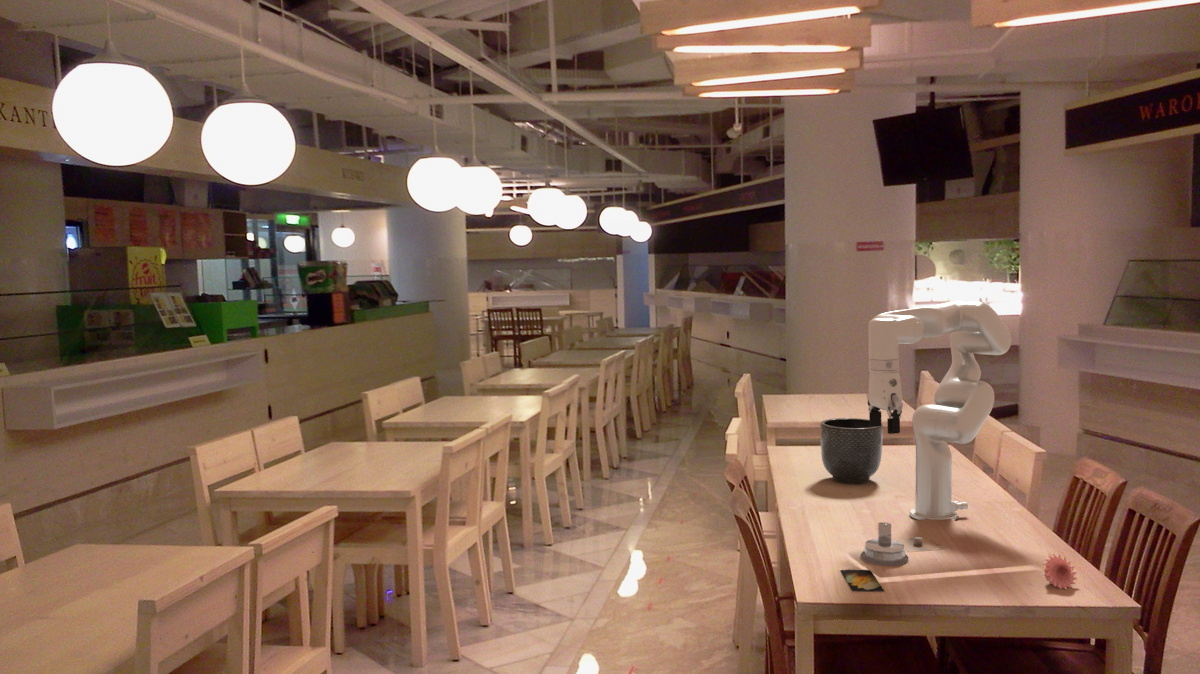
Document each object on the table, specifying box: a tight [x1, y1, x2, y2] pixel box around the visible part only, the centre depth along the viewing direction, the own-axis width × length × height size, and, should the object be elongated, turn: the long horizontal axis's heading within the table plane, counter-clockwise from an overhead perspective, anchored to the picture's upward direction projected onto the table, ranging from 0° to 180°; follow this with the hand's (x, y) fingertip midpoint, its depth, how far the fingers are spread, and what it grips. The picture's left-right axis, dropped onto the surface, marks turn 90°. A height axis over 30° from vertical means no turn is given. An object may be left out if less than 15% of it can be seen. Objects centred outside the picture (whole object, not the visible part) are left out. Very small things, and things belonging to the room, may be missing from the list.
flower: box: [1043, 553, 1078, 590], centre depth 208 cm, size 8×8×6 cm
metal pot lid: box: [860, 550, 909, 567], centre depth 226 cm, size 11×11×3 cm
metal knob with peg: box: [864, 521, 906, 562], centre depth 226 cm, size 9×9×8 cm
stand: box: [894, 536, 947, 553], centre depth 236 cm, size 10×10×3 cm
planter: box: [819, 417, 884, 485], centre depth 306 cm, size 20×20×19 cm
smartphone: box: [839, 569, 885, 594], centre depth 213 cm, size 7×1×15 cm
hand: (884, 429), depth 247 cm, fingers open, 9 cm apart
